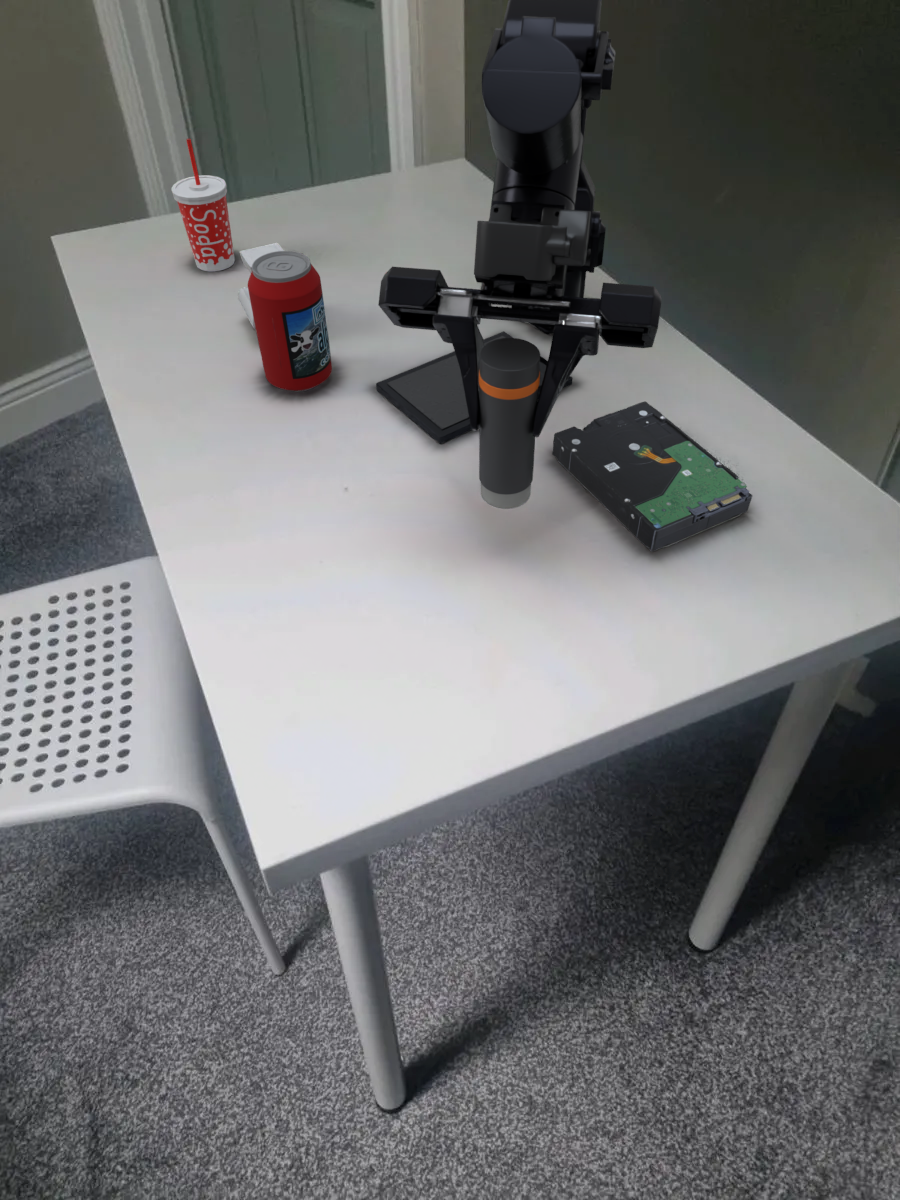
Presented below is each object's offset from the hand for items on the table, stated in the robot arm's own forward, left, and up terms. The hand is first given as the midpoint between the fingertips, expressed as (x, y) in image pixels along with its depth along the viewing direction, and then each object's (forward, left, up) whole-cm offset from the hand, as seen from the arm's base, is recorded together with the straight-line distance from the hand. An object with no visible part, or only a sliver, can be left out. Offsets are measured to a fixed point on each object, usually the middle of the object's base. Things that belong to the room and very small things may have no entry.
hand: (504, 433), depth 62 cm
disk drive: (-16, 0, -13) cm, 21 cm away
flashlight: (-1, -1, -7) cm, 7 cm away
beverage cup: (-4, -61, -13) cm, 63 cm away
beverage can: (0, -33, -13) cm, 36 cm away
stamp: (-3, -43, -13) cm, 45 cm away
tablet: (-13, -21, -13) cm, 28 cm away
